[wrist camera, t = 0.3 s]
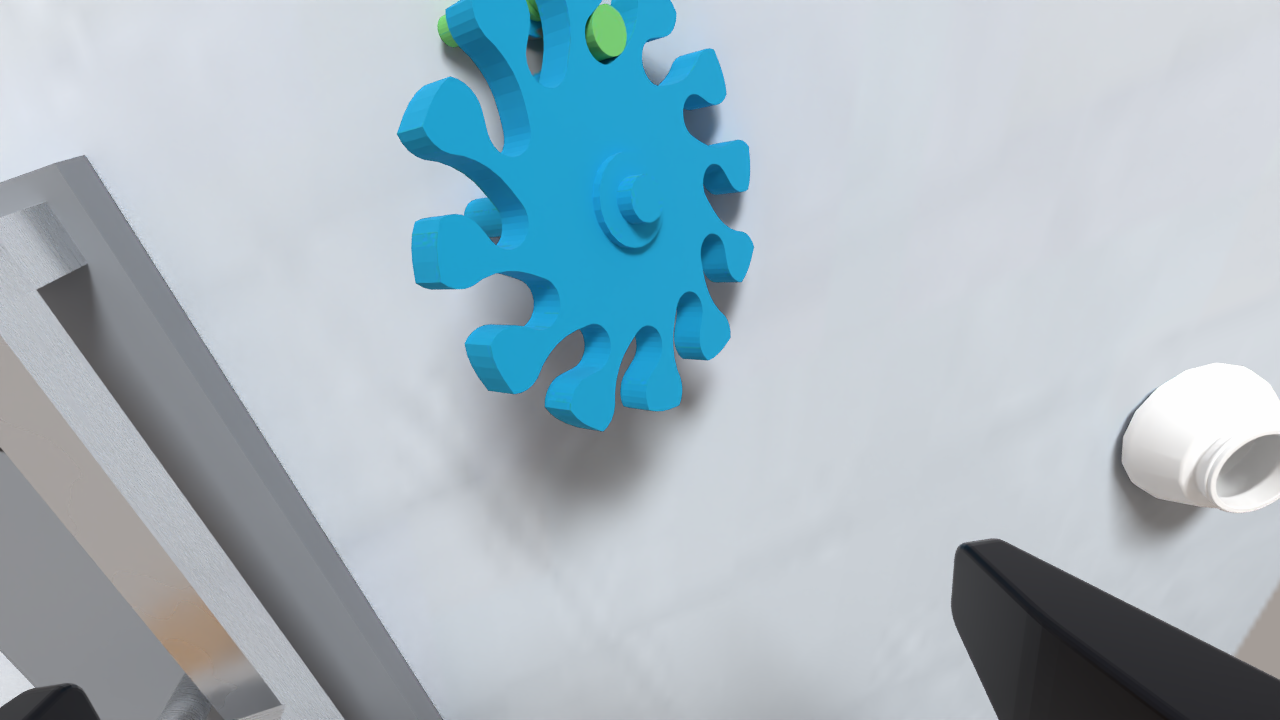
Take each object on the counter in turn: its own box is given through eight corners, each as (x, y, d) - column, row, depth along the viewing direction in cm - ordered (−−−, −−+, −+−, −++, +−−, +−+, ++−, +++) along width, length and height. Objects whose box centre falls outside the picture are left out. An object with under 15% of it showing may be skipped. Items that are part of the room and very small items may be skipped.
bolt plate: (492, 799, 29) (490, 831, 28) (255, 873, 30) (243, 909, 28) (84, 155, 18) (52, 163, 17) (-282, 285, 19) (-339, 303, 18)
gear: (796, 343, 21) (527, 521, 14) (637, 336, 25) (367, 472, 18) (733, -104, 17) (343, -161, 11) (562, -29, 21) (197, -36, 14)
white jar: (1093, 415, 25) (1140, 511, 27) (1157, 462, 22) (1205, 564, 24) (1233, 329, 24) (1272, 435, 26) (1318, 367, 21) (1354, 481, 23)
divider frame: (452, 771, 27) (434, 902, 23) (296, 820, 27) (251, 959, 23) (73, 192, 18) (-70, 240, 14) (-159, 274, 18) (-366, 345, 14)
